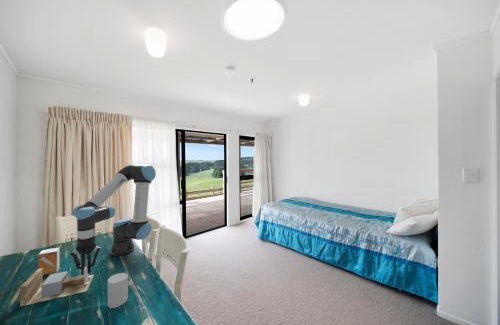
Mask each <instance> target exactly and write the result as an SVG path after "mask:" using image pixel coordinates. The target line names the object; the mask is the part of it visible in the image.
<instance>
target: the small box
mask: <svg viewBox="0 0 500 325" xmlns="http://www.w3.org/2000/svg"><path fill="white" fill-rule="evenodd" d="M60 249H61V248H60V247H53V248H47V249H43V250H41V251H40V252H39V253H38V256H37V258H38V261H37V262H38V264H37V267H38V268H37V269H41V268H43V276H45V275H50V274H55V273H58V271H59V269H60V251H61V250H60Z"/></svg>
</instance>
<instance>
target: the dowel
mask: <svg viewBox="0 0 500 325" xmlns="http://www.w3.org/2000/svg"><path fill="white" fill-rule="evenodd" d="M85 282H86V281H84V275H82V274H80V275H76V276H71V277H68V278H65V279H63V281H62V290H64V289H65V288H68V287H73V286H78V285H82V284H85Z"/></svg>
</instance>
